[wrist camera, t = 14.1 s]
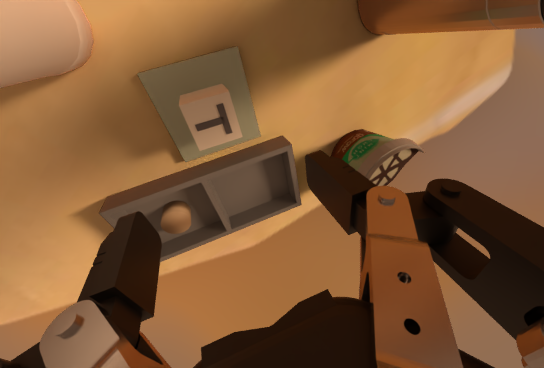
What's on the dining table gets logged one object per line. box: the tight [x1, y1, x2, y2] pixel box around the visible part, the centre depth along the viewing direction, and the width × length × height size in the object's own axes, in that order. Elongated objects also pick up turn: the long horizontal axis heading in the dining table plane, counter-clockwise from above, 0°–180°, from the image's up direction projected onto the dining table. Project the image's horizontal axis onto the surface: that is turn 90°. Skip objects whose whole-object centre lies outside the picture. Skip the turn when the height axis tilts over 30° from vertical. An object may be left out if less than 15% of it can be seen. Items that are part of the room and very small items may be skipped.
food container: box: [331, 129, 425, 186], centre depth 33 cm, size 12×6×10 cm, turn 143°
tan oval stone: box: [161, 201, 191, 234], centre depth 31 cm, size 4×4×3 cm
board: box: [137, 46, 261, 162], centre depth 26 cm, size 11×11×1 cm
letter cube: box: [179, 84, 243, 151], centre depth 24 cm, size 5×5×5 cm
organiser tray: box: [99, 136, 301, 262], centre depth 32 cm, size 12×26×4 cm, turn 105°
